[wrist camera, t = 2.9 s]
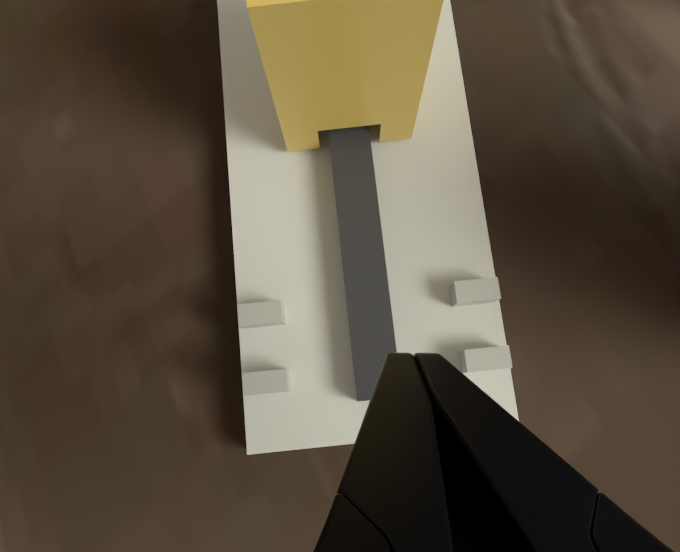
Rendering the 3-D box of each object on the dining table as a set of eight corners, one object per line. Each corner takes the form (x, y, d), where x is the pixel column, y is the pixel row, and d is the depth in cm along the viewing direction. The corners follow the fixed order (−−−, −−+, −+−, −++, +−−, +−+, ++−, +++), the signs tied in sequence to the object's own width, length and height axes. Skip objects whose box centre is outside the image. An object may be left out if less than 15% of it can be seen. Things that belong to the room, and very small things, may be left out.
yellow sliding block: (412, 138, 22) (449, -15, 14) (286, 151, 22) (244, 7, 14) (397, 27, 23) (422, -178, 14) (276, 41, 23) (232, -157, 15)
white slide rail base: (510, 423, 21) (574, 439, 15) (253, 450, 21) (211, 477, 15) (410, -199, 27) (427, -368, 21) (210, -177, 27) (168, -340, 21)
